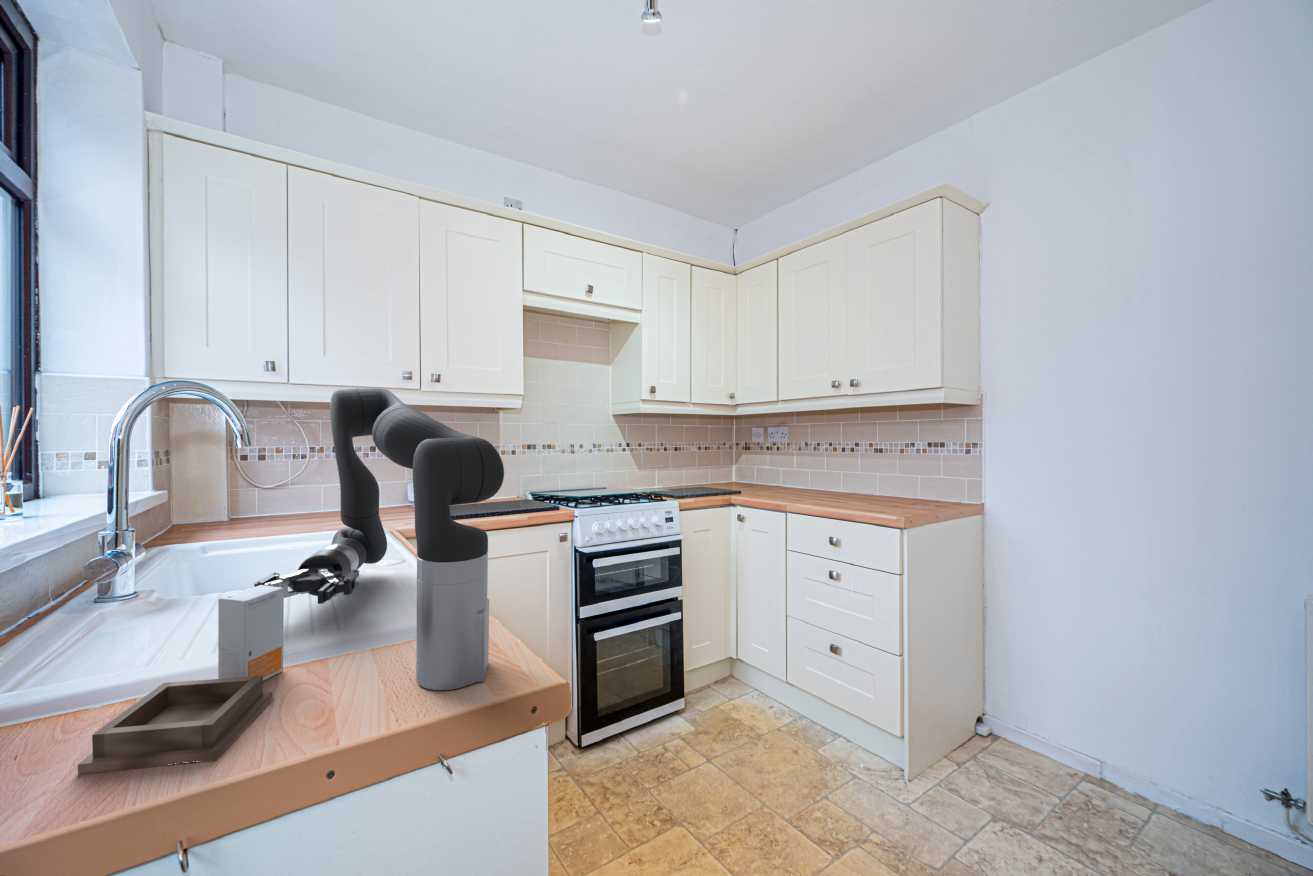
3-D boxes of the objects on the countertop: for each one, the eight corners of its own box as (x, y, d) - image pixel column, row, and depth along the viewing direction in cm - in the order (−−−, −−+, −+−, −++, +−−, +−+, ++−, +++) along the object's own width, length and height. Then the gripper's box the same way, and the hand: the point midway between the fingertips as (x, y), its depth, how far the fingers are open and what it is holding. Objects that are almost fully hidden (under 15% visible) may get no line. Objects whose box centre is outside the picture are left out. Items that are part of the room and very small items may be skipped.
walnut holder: (272, 699, 67) (272, 672, 67) (216, 760, 56) (216, 727, 56) (161, 708, 65) (160, 680, 65) (77, 774, 53) (76, 740, 53)
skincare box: (244, 693, 69) (243, 601, 68) (217, 688, 70) (216, 598, 69) (285, 670, 75) (285, 586, 74) (260, 667, 76) (259, 584, 75)
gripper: (286, 549, 97) (236, 577, 81) (372, 547, 100) (340, 573, 84) (286, 590, 97) (237, 625, 81) (371, 586, 100) (340, 620, 84)
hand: (289, 599), depth 83 cm, fingers open, 8 cm apart
